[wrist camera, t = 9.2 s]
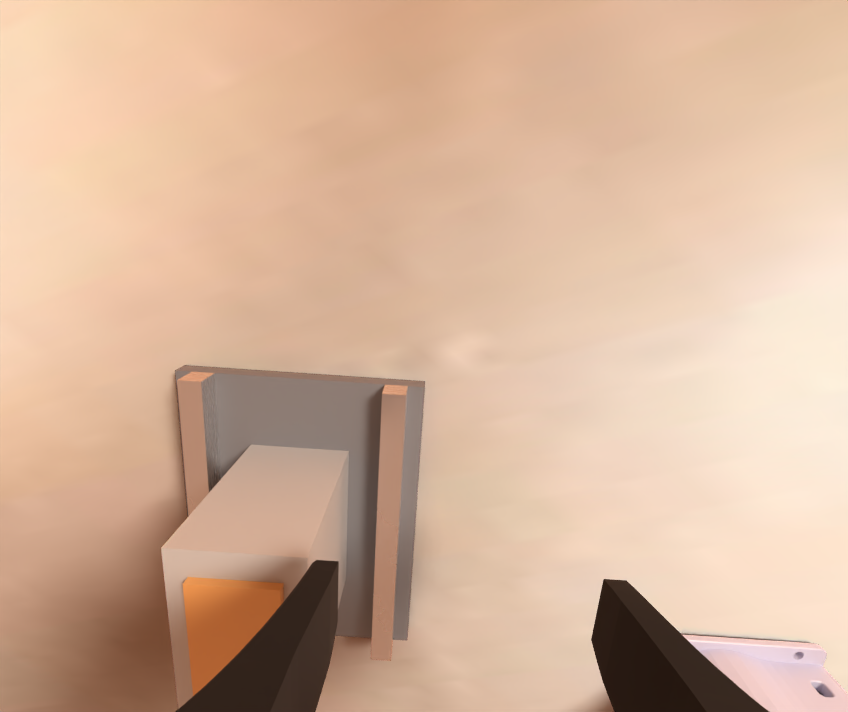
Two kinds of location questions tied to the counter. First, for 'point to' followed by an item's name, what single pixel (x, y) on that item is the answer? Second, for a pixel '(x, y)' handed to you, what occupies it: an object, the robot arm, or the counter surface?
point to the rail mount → (331, 430)
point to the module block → (250, 553)
